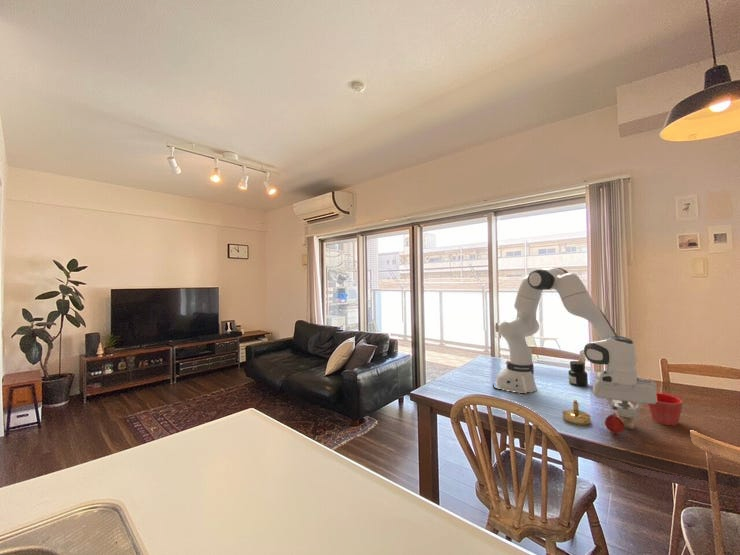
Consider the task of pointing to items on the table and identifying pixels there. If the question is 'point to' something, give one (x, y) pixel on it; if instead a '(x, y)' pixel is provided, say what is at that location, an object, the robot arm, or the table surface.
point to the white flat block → (625, 409)
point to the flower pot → (666, 409)
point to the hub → (576, 416)
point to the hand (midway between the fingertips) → (624, 410)
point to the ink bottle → (578, 374)
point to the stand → (627, 418)
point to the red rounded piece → (614, 424)
